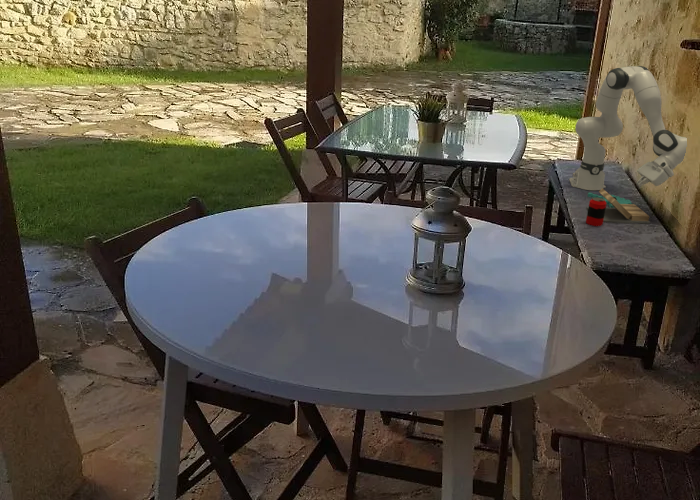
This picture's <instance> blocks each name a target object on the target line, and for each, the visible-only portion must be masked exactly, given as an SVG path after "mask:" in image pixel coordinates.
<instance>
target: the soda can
mask: <svg viewBox="0 0 700 500" xmlns="http://www.w3.org/2000/svg"><path fill="white" fill-rule="evenodd" d="M606 204H607V203H606V201H605V200H604V199H602V198H593V197H591V199H590V200H589V203H588V206H587V207H588V210H587V214H586V219H585V223H586V224H587V225H588V226H592V227H601V226H603V224H604V222H603V220H604V214H605V209H606V208H607V205H606Z"/></svg>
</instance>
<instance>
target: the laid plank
mask: <svg viewBox="0 0 700 500" xmlns="http://www.w3.org/2000/svg"><path fill="white" fill-rule="evenodd" d="M621 205H622V206H623V207H624V208H625V209H626V210H627V211H628V212H629V213H630V214H631V215H632V216H631V217H630V218H629V219H630V220H631V221H650V215H649V214H647V213H646V212H645V211H644V210H642V209H641V208H640V207H638V205H636V204H634V203H632V204H621Z"/></svg>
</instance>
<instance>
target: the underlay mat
mask: <svg viewBox="0 0 700 500" xmlns="http://www.w3.org/2000/svg"><path fill="white" fill-rule="evenodd" d="M588 207H589V206H586V208H585V209H586V210H587V211H588ZM603 223H611V224H612V223H614V224H635V223H639V225H640V224H641V225H650V224H651V221H650V220H649V221H631V220H630V219H627V218H626V217H625V216H624V215H623V214H621V213H620V212H619V211H618V210H617V209H616V208H610V207H606V209H605V214H604V220H603Z"/></svg>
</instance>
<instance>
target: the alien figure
mask: <svg viewBox="0 0 700 500" xmlns="http://www.w3.org/2000/svg"><path fill="white" fill-rule="evenodd" d="M610 195H611V196H612V197H613V198H614V199H616V200H617V201H618V202H619V203H620V204H633V203H632V201H631V199H626V198H625V197H620V196H619V195H618V196H617V195H615V194H610ZM587 198H602V199H604V200H605V201H606V203H607V204H606V206H607V205H608V206H609V207H608V208H615V207H614V206H613V205H612V204H611V203H610V202H609V201H608V200H607V199H606V198H605V197H604V196H603V195H599V194H594V193H593V192H587Z"/></svg>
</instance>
